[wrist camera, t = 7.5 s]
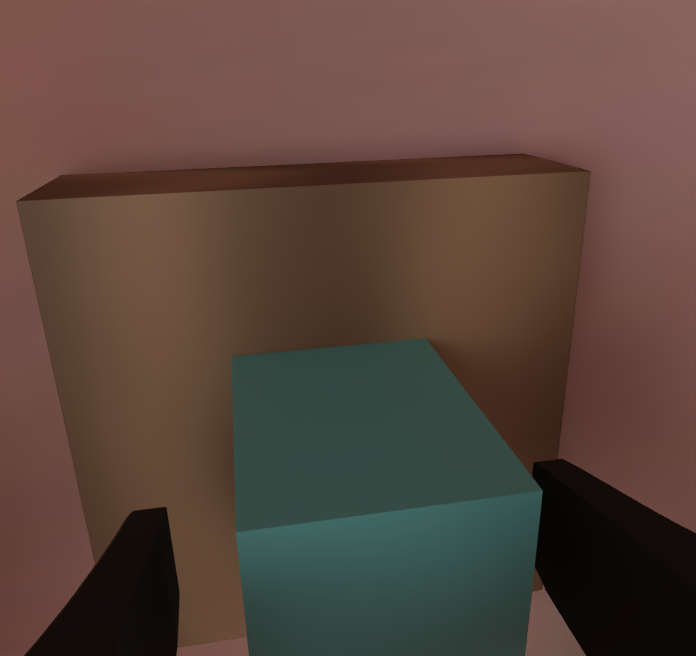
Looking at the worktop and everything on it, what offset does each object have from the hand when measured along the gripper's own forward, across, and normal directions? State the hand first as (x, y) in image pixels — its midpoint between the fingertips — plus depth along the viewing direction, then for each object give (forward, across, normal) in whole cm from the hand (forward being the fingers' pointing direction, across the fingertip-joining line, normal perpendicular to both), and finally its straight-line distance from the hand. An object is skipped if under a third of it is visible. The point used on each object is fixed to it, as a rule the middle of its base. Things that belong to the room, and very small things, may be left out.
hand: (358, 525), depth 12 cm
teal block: (+3, 0, 0) cm, 3 cm away
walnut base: (+7, 0, 0) cm, 7 cm away
